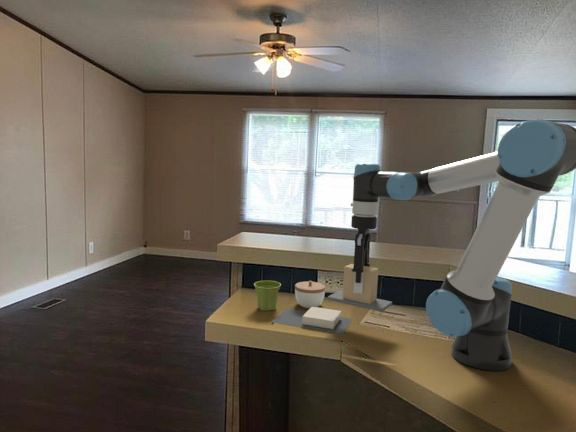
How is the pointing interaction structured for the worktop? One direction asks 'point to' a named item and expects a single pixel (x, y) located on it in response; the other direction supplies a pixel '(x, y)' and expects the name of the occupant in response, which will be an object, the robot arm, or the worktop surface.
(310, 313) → the tile
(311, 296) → the lidded jar
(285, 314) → the mat
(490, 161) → the robot arm
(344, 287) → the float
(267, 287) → the plant pot
